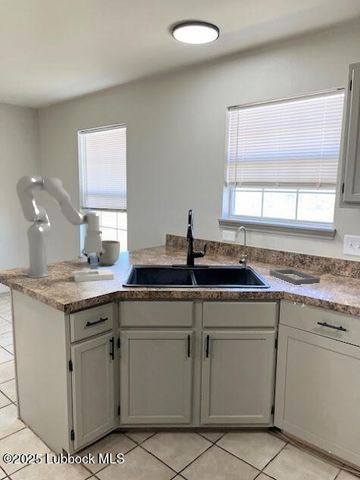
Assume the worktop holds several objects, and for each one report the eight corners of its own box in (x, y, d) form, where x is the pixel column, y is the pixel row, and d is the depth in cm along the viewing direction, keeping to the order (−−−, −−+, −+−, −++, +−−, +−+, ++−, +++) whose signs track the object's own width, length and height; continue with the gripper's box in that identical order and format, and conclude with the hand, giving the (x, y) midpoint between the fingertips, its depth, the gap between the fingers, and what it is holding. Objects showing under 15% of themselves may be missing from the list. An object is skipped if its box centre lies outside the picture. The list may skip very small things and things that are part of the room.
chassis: (75, 281, 209) (75, 276, 208) (73, 276, 221) (73, 271, 220) (113, 279, 216) (113, 274, 216) (109, 274, 228) (109, 269, 228)
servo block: (88, 266, 222) (88, 254, 221) (95, 266, 224) (95, 254, 222) (91, 270, 212) (90, 258, 211) (98, 270, 213) (98, 257, 212)
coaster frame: (295, 286, 210) (296, 280, 209) (269, 275, 235) (269, 269, 234) (319, 284, 216) (320, 278, 215) (291, 274, 240) (291, 268, 240)
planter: (91, 263, 257) (90, 241, 255) (113, 261, 267) (113, 239, 265) (101, 268, 244) (101, 244, 241) (124, 265, 254) (124, 242, 251)
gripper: (106, 232, 221) (106, 261, 224) (77, 233, 215) (78, 263, 218) (108, 234, 214) (108, 264, 217) (78, 234, 208) (79, 266, 211)
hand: (93, 263), depth 217 cm, fingers closed on servo block, 4 cm apart
